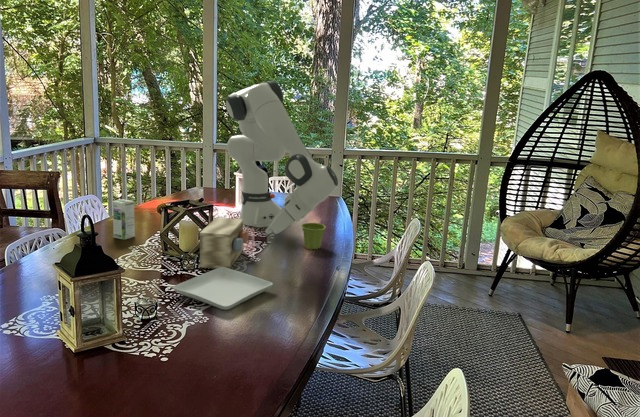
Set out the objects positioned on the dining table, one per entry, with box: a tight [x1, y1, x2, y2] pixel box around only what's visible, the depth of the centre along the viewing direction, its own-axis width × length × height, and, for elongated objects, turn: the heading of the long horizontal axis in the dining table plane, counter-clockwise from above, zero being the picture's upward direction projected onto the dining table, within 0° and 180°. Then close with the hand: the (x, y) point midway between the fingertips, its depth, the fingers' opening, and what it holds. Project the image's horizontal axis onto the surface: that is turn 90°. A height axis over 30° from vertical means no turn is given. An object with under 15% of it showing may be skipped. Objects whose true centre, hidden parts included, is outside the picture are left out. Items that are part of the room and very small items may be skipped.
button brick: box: [238, 230, 249, 244], centre depth 174 cm, size 7×4×4 cm, turn 86°
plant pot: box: [301, 222, 327, 250], centre depth 188 cm, size 9×9×9 cm
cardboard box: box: [199, 217, 244, 269], centre depth 170 cm, size 10×20×12 cm, turn 176°
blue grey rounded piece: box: [232, 238, 244, 252], centre depth 165 cm, size 7×4×4 cm, turn 86°
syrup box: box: [112, 198, 136, 241], centre depth 187 cm, size 6×6×14 cm
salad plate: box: [172, 267, 274, 311], centre depth 142 cm, size 21×21×3 cm
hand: (267, 231), depth 164 cm, fingers closed
